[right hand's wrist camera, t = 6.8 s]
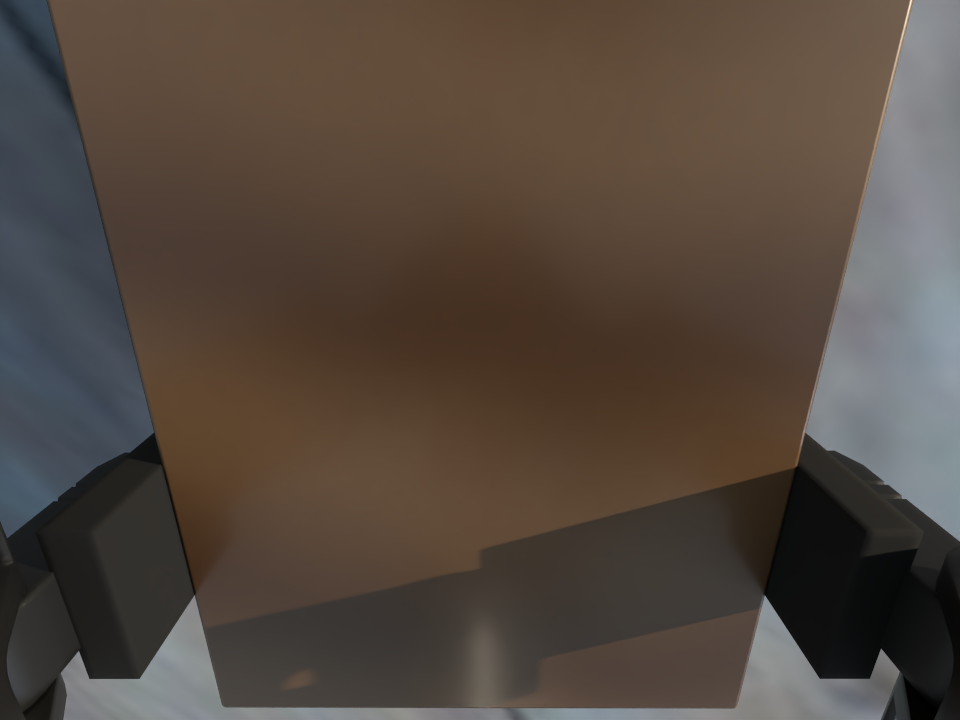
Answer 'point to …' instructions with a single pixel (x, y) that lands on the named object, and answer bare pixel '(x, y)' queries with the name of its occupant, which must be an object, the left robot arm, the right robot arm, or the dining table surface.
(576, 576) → the cabinet
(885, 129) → the dining table surface
